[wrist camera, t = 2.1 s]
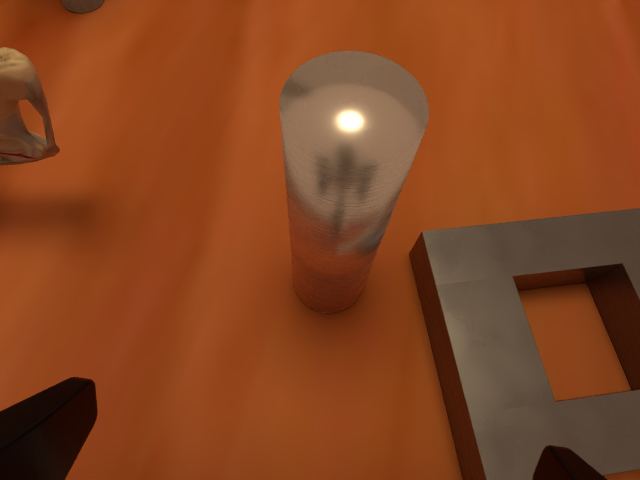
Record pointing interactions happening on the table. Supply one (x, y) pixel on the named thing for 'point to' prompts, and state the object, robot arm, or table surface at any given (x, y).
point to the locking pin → (345, 167)
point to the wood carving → (5, 118)
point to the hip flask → (82, 5)
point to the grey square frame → (529, 339)
